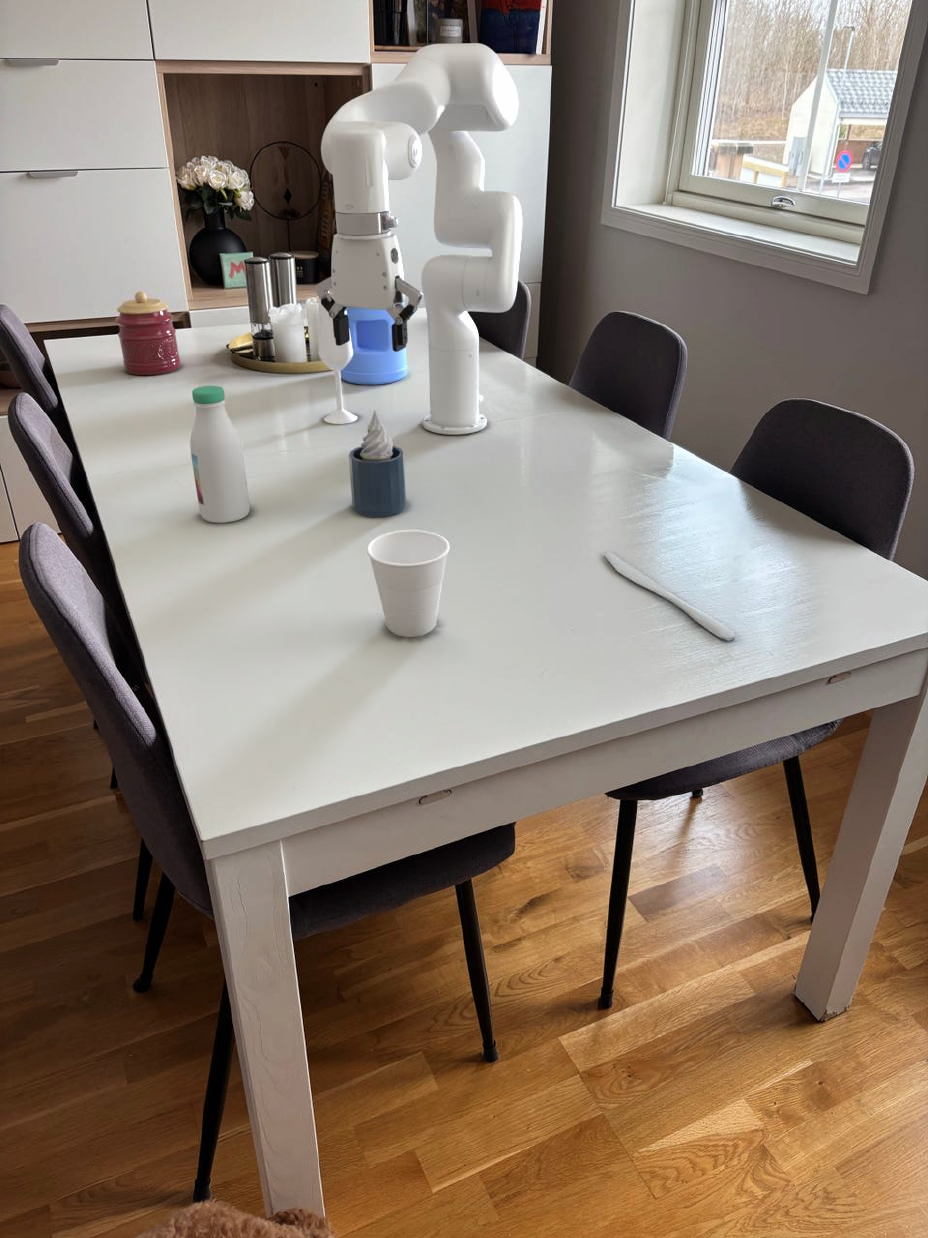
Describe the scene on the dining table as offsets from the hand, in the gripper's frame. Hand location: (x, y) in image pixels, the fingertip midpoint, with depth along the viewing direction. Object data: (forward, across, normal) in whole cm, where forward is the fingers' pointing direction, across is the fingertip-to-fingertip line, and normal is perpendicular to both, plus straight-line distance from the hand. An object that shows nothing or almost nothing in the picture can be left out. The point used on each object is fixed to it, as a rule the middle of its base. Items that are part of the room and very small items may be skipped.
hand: (371, 346), depth 143 cm
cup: (+24, -24, +36) cm, 49 cm away
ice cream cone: (+24, -2, +4) cm, 24 cm away
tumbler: (+24, -2, +4) cm, 25 cm away
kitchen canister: (+26, +88, -50) cm, 104 cm away
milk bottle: (+24, +19, +16) cm, 35 cm away
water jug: (+26, +36, -64) cm, 77 cm away
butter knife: (+24, -50, +16) cm, 58 cm away
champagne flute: (+25, +27, -34) cm, 50 cm away
